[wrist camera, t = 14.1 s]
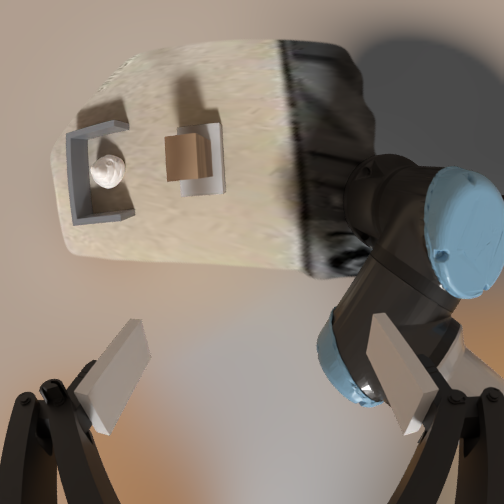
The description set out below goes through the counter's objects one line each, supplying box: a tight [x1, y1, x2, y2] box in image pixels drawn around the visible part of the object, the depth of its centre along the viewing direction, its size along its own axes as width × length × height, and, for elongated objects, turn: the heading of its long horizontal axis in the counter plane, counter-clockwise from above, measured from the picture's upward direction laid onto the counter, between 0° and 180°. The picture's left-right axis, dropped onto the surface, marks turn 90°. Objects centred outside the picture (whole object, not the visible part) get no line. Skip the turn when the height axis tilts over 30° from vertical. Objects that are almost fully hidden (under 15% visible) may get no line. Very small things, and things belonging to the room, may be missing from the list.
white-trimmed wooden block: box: [165, 123, 226, 197], centre depth 34 cm, size 6×10×12 cm, turn 3°
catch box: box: [66, 120, 135, 226], centre depth 38 cm, size 10×15×5 cm, turn 3°
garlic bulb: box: [90, 155, 125, 189], centre depth 38 cm, size 6×6×5 cm
